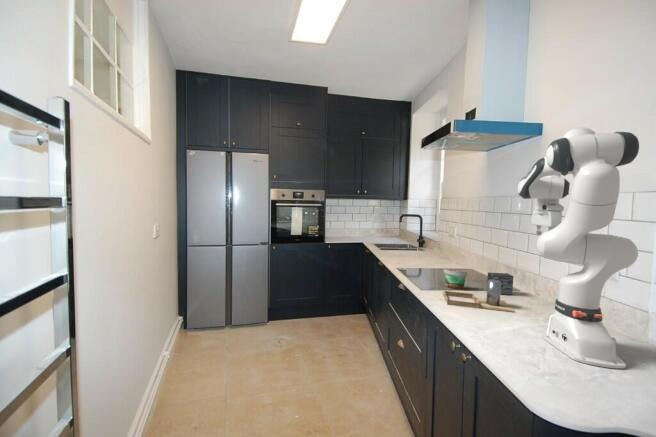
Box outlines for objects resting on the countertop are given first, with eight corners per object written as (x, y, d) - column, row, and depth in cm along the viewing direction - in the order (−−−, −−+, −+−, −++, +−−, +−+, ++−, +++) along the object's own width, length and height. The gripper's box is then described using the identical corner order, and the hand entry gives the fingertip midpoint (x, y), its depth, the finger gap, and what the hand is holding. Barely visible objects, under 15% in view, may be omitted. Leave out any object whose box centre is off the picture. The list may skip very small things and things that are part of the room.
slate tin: (501, 306, 131) (503, 283, 130) (488, 305, 132) (489, 282, 131) (497, 302, 136) (499, 280, 135) (484, 301, 137) (486, 279, 137)
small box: (506, 291, 155) (507, 272, 154) (512, 295, 148) (514, 276, 148) (485, 290, 156) (487, 271, 155) (491, 294, 150) (493, 274, 149)
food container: (443, 288, 157) (444, 270, 156) (442, 285, 163) (443, 268, 162) (467, 291, 153) (469, 273, 152) (466, 288, 159) (467, 270, 158)
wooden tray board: (515, 312, 126) (515, 307, 125) (447, 304, 133) (447, 300, 132) (504, 301, 139) (504, 297, 139) (443, 294, 146) (443, 290, 146)
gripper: (529, 206, 145) (526, 233, 146) (549, 206, 125) (546, 237, 126) (543, 207, 143) (540, 234, 144) (566, 207, 123) (562, 238, 124)
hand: (543, 235), depth 135 cm, fingers open, 8 cm apart
